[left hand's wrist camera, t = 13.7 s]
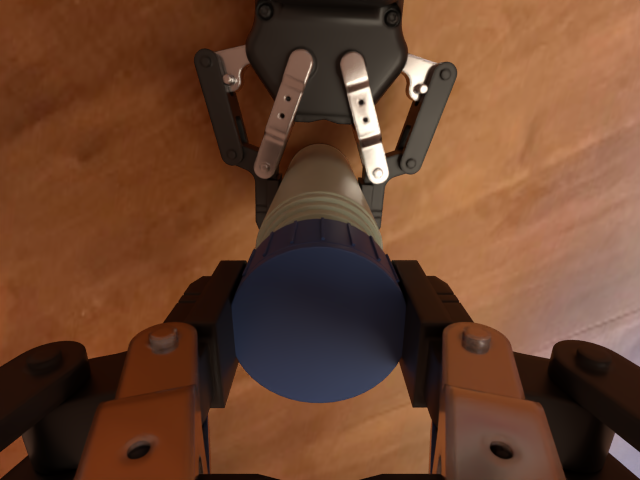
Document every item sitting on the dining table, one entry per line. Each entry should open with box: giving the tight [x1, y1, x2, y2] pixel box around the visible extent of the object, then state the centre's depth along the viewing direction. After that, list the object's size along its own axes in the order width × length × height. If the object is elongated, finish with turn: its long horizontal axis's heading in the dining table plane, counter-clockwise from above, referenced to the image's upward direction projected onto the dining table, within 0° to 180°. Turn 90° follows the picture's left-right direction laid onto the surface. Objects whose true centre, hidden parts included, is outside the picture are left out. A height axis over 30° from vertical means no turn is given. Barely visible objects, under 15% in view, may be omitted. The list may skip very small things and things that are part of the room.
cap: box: [231, 217, 406, 403], centre depth 11 cm, size 5×5×2 cm
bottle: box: [256, 144, 383, 250], centre depth 19 cm, size 5×5×20 cm
